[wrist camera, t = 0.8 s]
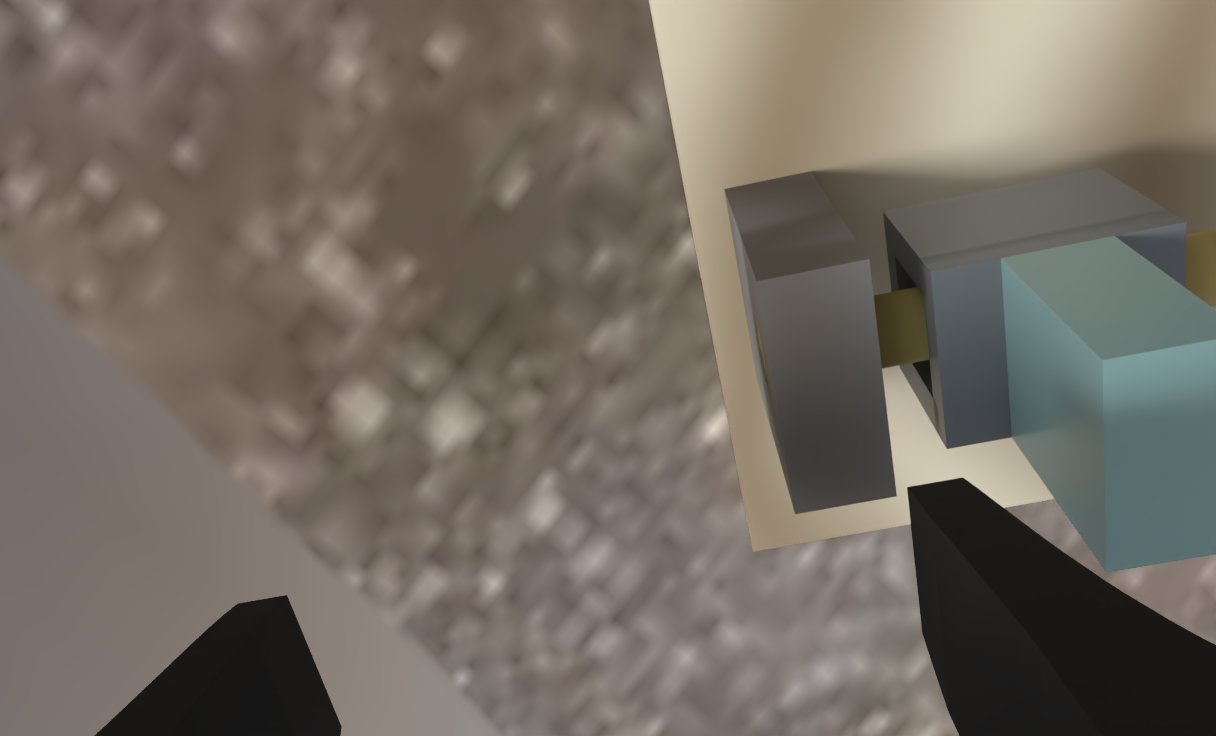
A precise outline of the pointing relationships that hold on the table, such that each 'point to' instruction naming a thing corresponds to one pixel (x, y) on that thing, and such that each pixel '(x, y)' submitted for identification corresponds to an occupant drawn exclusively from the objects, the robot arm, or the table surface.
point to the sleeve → (1072, 352)
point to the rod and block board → (893, 178)
